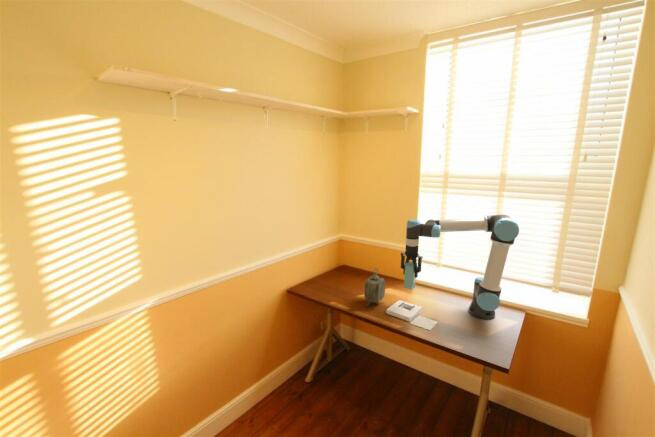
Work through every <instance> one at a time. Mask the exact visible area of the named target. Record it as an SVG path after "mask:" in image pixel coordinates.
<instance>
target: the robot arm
mask: <svg viewBox="0 0 655 437" xmlns="http://www.w3.org/2000/svg"><path fill="white" fill-rule="evenodd" d="M475 231H481V232H482V231H485V232H486V233H490V238H489V239H490V241H491V247H490V251H489V255H488V258H487V259H488V260H487V264H486V266H485V267H486V268H485V270H484V275H483V277H475V278H474V282H473V283H474V284H473V285H474V286H473V295H472V300H471V303H470V305H469V306H468V313H469V314H470V315H471V316H473V317H475V318H478V319H481V320H493V319H495V317H496V310H497V309H499V308H500V305H501V299H500V298H501V297H500V296H501V293H502V288H501V286H500V284H501V281H502V277H503V272H504V269H505V265H506V261H507V257H508V254H509V250H510V246H513V245H514V243H515V240H516V238H517V237H518V235H519V233H520V228H519V224H518V222H516V220H514V219H513V218H512V217H510V215H506V214H495V215H485V216H483V217H475V218H473V217H472V218H457V219H455V218H454V219H440V220H439V219H436V220H435V219H428V220H427V221H426V222H425V223H421V222H420V220H419V219H408V220H407V221H406V233H405V234H406V236H405V238H406V239H405V252H400V269H402V270H403V274H402V275H403V276H404V277H403V278H404V280H403V281H405V263H408V262H409V261H411V262H413V264H414V271H415V272H414V273H413V283H415V284H416V283H417V278H418V275H419V274H418V273H420V272H421V271H422V260H423V258H424V257H423V256H421V255H419V242H420V237H423V238H424V237H425V238H433V239H435V238H437V239H438V238H440V237H441V233H448V232H449V233H451V232H452V233H453V232H475Z"/></svg>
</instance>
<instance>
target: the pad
mask: <svg viewBox="0 0 655 437" xmlns="http://www.w3.org/2000/svg"><path fill="white" fill-rule="evenodd" d="M409 324H410V325H412V326H416V327H419V328H421V329H424V330H427V331H431V330H432V329H433V328H434V327H435V326H436V325H438V321H436V320H434V319H430V318H428V317H424V316H422V315H417V316H416V317H415V318H414V319H413V320H411V321H410V323H409Z"/></svg>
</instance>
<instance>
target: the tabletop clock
mask: <svg viewBox="0 0 655 437" xmlns="http://www.w3.org/2000/svg"><path fill="white" fill-rule="evenodd" d="M378 271H379V269H378V267H375V268H374V269H373V272H372V275H371V276H369V277H368V278H367V279H366V280H365V283H364V291H363V292H364V294H363V295H364V298H363V299H364V301H367V302H368V303H367V304H366V306H367V307H369V305H370V303H376V305H377V306H379V303H380V302H381V301H382V300H383V299H384V297H385V294H386V293H385V292H386V280H385V279H384V278H383V277H380V276H379V275H377V274H378Z"/></svg>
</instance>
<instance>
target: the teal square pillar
mask: <svg viewBox="0 0 655 437" xmlns="http://www.w3.org/2000/svg"><path fill="white" fill-rule="evenodd" d="M404 265H405V275H404V276H405V280H403V281H404V282H403V283H404V284H403V285H404V286H403V288H404V289H406V290H412V291H413V289H415V288H416V282H415V283H413V273H414V272H415V271H414V264H413V262H412V260H409V262H408V263H404Z"/></svg>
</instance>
